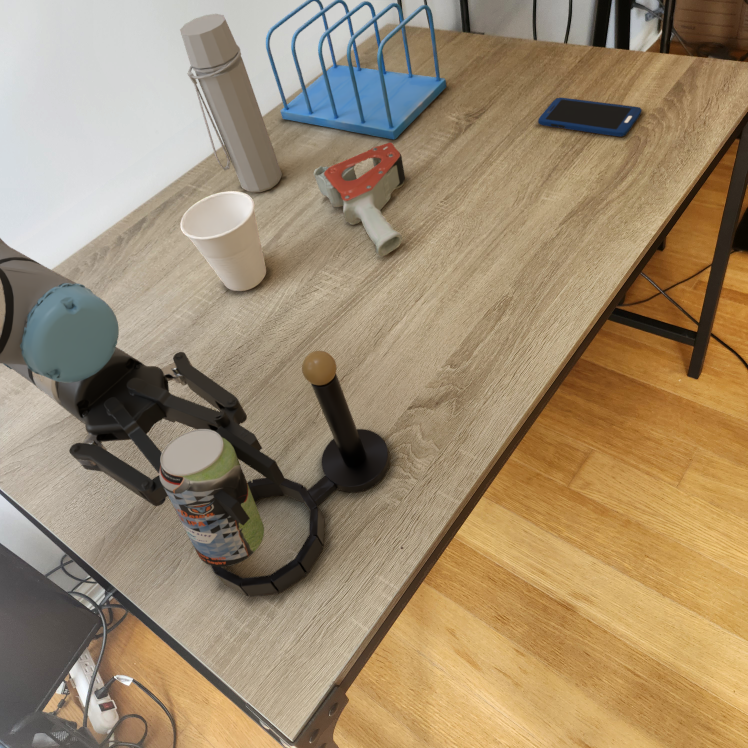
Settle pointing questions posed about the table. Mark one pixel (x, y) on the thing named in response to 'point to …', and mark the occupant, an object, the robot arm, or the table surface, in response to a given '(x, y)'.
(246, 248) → the cup
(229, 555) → the beverage can
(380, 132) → the file sorter
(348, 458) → the can holder
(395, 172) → the tape dispenser
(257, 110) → the water bottle
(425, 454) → the table surface
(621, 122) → the cell phone
